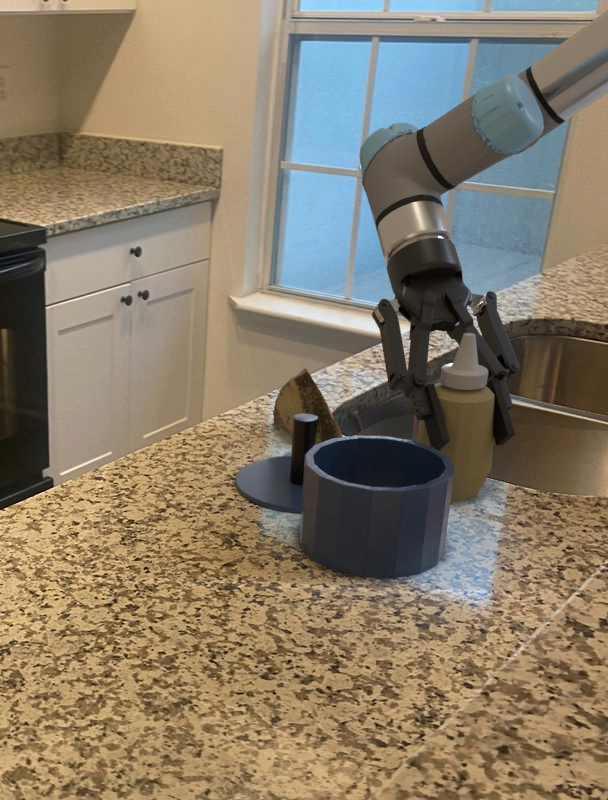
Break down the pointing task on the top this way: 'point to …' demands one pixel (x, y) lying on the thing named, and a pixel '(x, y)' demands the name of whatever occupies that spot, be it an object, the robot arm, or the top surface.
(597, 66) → the robot arm
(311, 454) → the pot
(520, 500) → the top surface
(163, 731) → the top surface
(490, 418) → the squeeze bottle
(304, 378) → the rock
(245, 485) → the pot lid
